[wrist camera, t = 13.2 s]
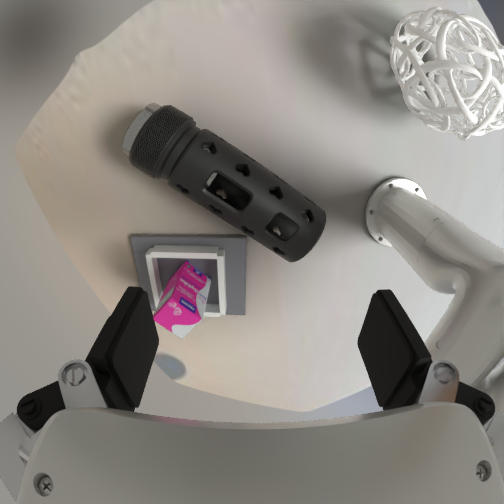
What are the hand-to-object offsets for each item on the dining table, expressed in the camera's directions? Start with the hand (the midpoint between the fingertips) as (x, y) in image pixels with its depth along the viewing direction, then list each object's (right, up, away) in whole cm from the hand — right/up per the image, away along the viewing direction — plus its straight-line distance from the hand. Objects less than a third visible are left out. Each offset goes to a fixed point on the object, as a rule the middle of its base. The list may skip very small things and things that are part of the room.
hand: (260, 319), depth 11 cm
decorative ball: (+27, +32, +21) cm, 47 cm away
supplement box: (-11, -2, +38) cm, 39 cm away
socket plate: (-11, -2, +38) cm, 40 cm away
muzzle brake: (-4, +15, +30) cm, 34 cm away
